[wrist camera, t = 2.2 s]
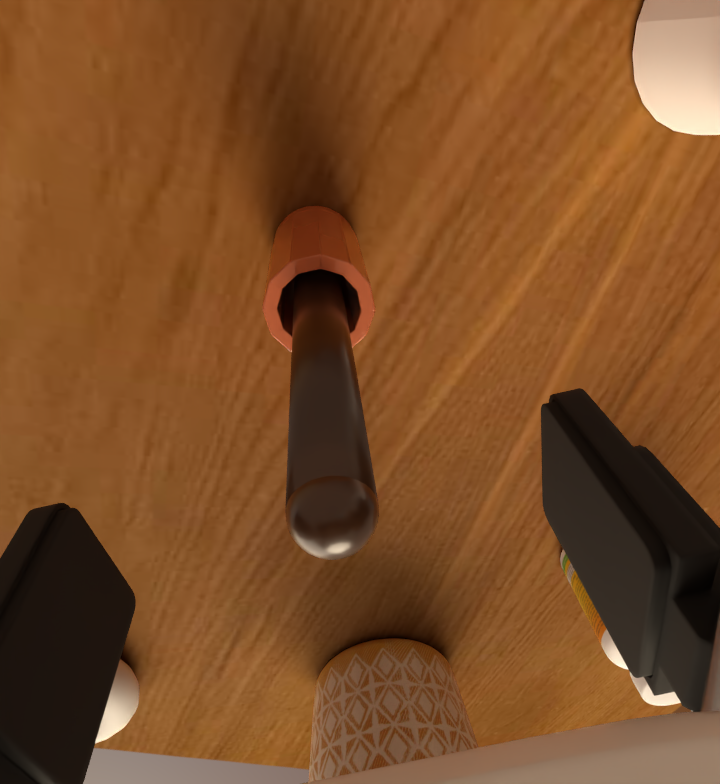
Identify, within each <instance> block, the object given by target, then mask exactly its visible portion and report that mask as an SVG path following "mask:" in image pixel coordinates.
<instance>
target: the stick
mask: <svg viewBox="0 0 720 784" xmlns="http://www.w3.org/2000/svg"><path fill="white" fill-rule="evenodd" d="M378 517H379V505H378V499H377V493H376V487H375V481H374V475H373V469H372V463H371V457H370V451H369V445H368V439H367V433H366V427H365V421H364V415H363V409H362V403H361V397H360V391H359V385H358V379H357V373H356V368H355V362H354V356H353V350H352V344H351V338H350V332H349V326H348V320H347V314H346V308H345V302H344V296H343V290H342V284H341V278H340V274H337V273H333V272H330V271H327V270H323V269H318V270H313V271H309V272H304V273H300V274H298V275H297V276H296V277H295V279H294V305H293V331H292V357H291V383H290V409H289V435H288V461H287V487H286V522H287V526H288V529H289V531H290V534H291V536H292V537H293V539H294V540H295V542H296V543H297V544H298V545H299V546H300V547H301V548H302V549H303V550H304V551H306V552H307V553H309V554H310V555H313V556H315V557H317V558H321V559H327V560H336V559H343V558H346V557H349V556H351V555H354V554H355V553H357V552H358V551H359V550H361V549H362V548H363V547H364V546H365V545H366V544H367V543H368V542H369V540H370V539H371V537H372V536H373V534H374V532H375V529H376V527H377V523H378Z"/></svg>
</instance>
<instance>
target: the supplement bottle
mask: <svg viewBox="0 0 720 784" xmlns="http://www.w3.org/2000/svg"><path fill="white" fill-rule="evenodd" d="M560 562H561V566H562V569H563V571H564V573H565V575H566V577H567V579H568V581H569V583H570V585H571V587H572V589H573V591H574V593H575V595H576V597H577V599H578V601H579V603H580V605H581V607H582V609H583V611H584V613H585V615H586V616H587V618H588V620H589V622H590V624H591V626H592V628H593V630H594V632H595V634H596V636H597V638H598V640H599V642H600V644H601V646H602V648H603V650H604V651H605V653H606V655H607V656H608V658H609V659H610V660H611V661H612V662H613V663H615V664H616V665H617V666H619V667H622V668H624V669H628V668H627V666H626V664H625V662H624V660H623V658H622V657H621V655H620V653H619V651H618V649H617V647H616V645H615V644H614V642H613V640H612V638H611V636H610V634H609V633H608V631H607V629H606V627H605V625H604V623H603V621H602V620H601V618H600V616H599V614H598V612H597V610H596V609H595V607H594V605H593V603H592V601H591V599H590V597H589V596H588V594H587V592H586V590H585V588H584V586H583V585H582V583H581V581H580V579H579V577H578V575H577V573H576V572H575V570H574V568H573V566H572V564H571V562H570V561H569V559H568V557H567V555H566V553H565V551H564V549H563V550H562V553H561V557H560ZM628 670H629V669H628ZM630 676H631V677H632V680H633V683H634V684H635V686H636V688H637V689H638V691H639V693H640V695H641V697H642V698H643V699H644V701H646V702H647V703H649V704H652V705H658V706H664V705H672V704H677V703H681V702H680V700H679V699H678V697H677V695H676V694H675V692H671V693H666V694H661V695H657V696H654V695H653V693H652V691H651V689H650V687H649V686H648V684H647V682H646V680H645V678H644V677H640V678H635V677H634V676H633V675H632V674H631V672H630Z"/></svg>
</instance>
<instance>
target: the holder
mask: <svg viewBox="0 0 720 784" xmlns="http://www.w3.org/2000/svg"><path fill="white" fill-rule="evenodd" d="M318 269H323V270H327V271H330V272H333V273H337V274H340V278H341V284H342V290H343V296H344V302H345V308H346V314H347V320H348V326H349V332H350V338H351V344H352V347H353V346H354V345H356V344H357V343H358V342H359V341H360V340H362V339H363V338H364V337H365V335H366V334H367V332H368V330H369V327H370V324H371V322H372V319H373V316H374V313H375V305H374V300H373V295H372V290H371V285H370V281H369V278H368V275H367V271H366V268H365V264H364V261H363V258H362V254H361V251H360V247H359V244H358V241H357V237H356V234H355V232H354V231H353V229H352V227H351V225H350V224H349V223H348V221H347V220H346V219H345V218H344V217H343V216H342V215H340V214H339V213H338V212H336V211H334V210H332V209H329V208H326V207H322V206H307V207H303V208H300V209H297V210H295V211H294V212H292V213H290V214H289V215H288V216H287V217H286V218H285V219H284V220H283V221H282V222H281V224H280V225H279V227H278V229H277V231H276V234H275V237H274V243H273V247H272V251H271V256H270V263H269V269H268V275H267V281H266V287H265V294H264V300H263V312H264V316H265V319H266V322H267V325H268V328H269V331H270V333H271V335H272V336H273V337H275V338H276V339H277V340H278V341H279V342H280V343H281V344H282V345H283V346H285V347H286V348H287V349H288V350H289V351H290V352H292V331H293V305H294V279H295V277H296V276H297V275H298V274H300V273H304V272H309V271H313V270H318Z"/></svg>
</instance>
